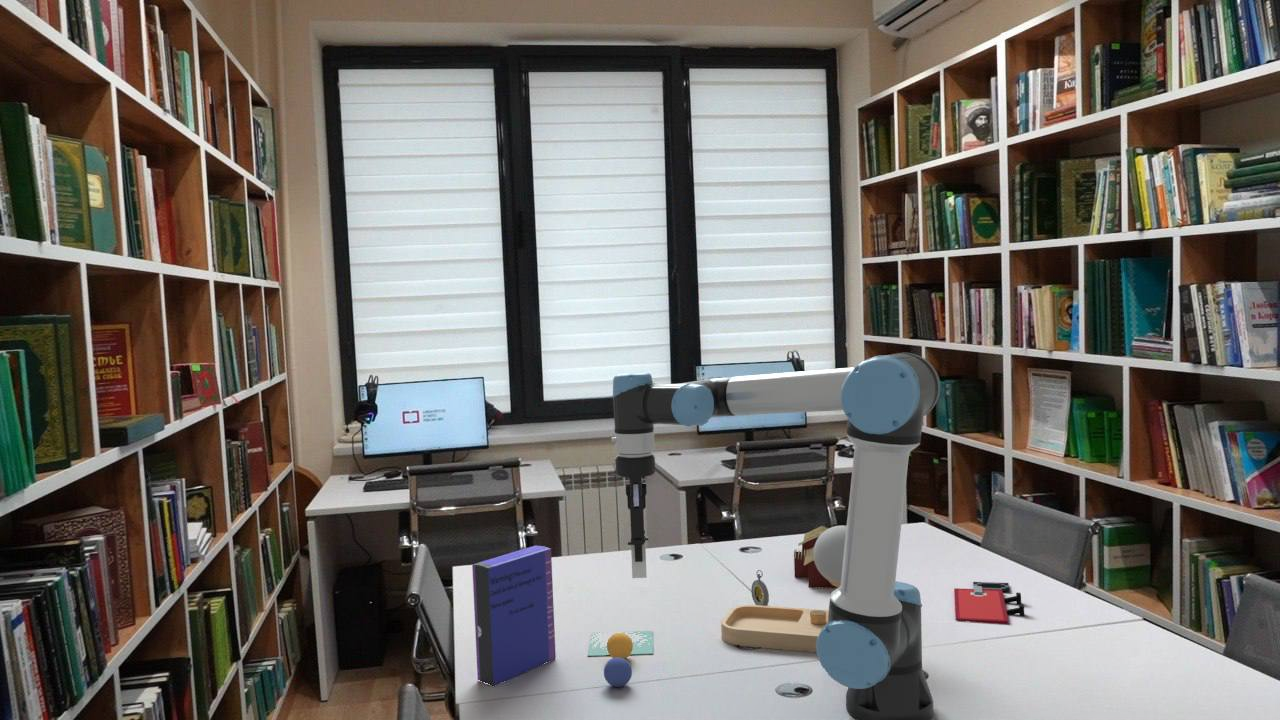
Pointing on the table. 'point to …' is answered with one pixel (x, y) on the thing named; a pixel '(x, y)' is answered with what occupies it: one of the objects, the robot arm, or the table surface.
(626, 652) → the orange ball
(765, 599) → the pocket watch
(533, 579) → the purple book
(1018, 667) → the table surface
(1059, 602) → the table surface
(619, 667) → the blue ball
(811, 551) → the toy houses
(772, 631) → the lamp
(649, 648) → the green mark
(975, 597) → the red board with handle
